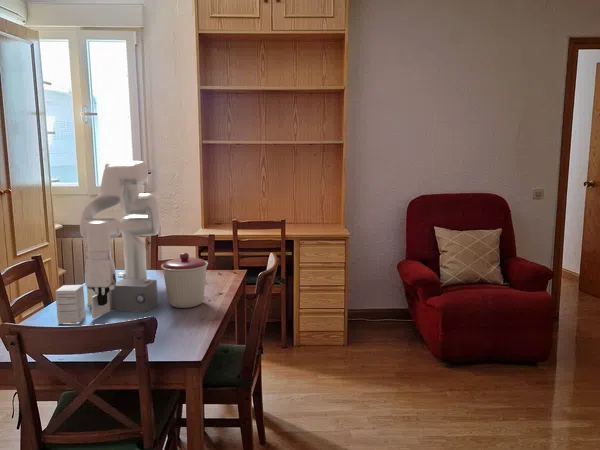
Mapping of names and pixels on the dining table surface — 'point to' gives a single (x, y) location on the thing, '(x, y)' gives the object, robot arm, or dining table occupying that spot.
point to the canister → (185, 281)
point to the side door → (100, 309)
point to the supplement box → (70, 304)
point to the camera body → (134, 295)
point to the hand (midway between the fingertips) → (102, 304)
